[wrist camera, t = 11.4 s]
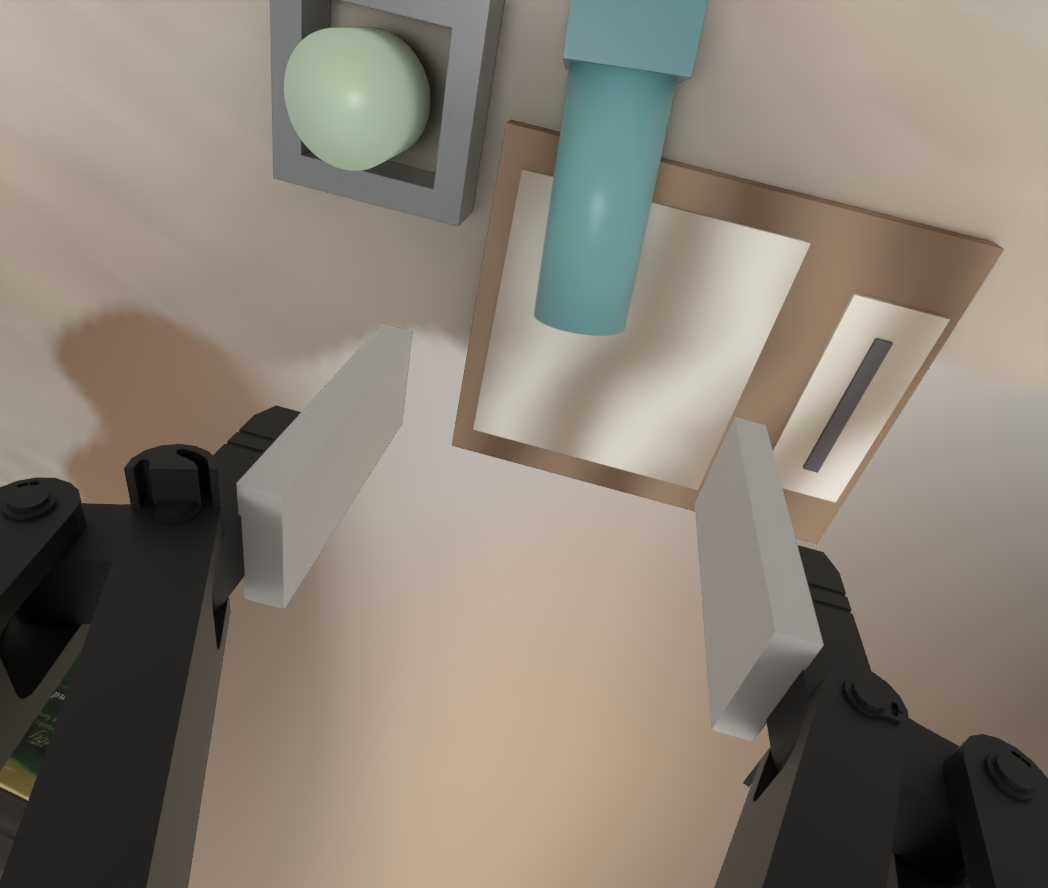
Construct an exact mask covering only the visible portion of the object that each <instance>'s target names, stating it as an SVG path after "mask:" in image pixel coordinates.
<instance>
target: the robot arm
mask: <svg viewBox="0 0 1048 888" xmlns="http://www.w3.org/2000/svg"><path fill="white" fill-rule="evenodd" d="M412 332H413V331H409V330H406V329H402V328H398V327H394V326H391V325H387V324H383V323H382V324H381V326H380V327H379V328H378V329H377V330H376V331H375V332H374V333H373V334H372V335H371V336H370V338H369V339H368V340H367V341H366V342H365V343H364V344H363V345H362V346H361V347H360V349H359V350H358V351H357V352H356V353H355V354H354V355H353V356H352V357H351V358H350V359H349V361H348V362H347V363H346V364H345V365H344V366H343V367H342V368H341V369H340V371H339V372H338V373H337V374H336V375H335V376H334V377H333V378H332V379H331V380H330V381H329V382H328V384H327V385H326V386H325V387H324V388H323V389H322V390H321V391H320V393H318V395H317V396H316V397H315V398H314V399H313V400H312V401H311V402H310V403H309V404H308V405H307V407H306V408H305V409H304V410H303V411H302V412H298V411H294V410H291V409H287V408H283V407H280V406H274V407H272V408H269V409H267V410H265V411H263V412H260V413H258V414H256V415H254V416H253V417H252V418H251V419H250V420H249V421H248V422H247V423H246V424H245V425H244V426H243V427H242V428H241V429H240V430H239V433H238V432H236V433H235V435H233V436H232V437H231V438H230V439H229V440H228V443H227V444H224V445H223V446H222V447H221V448H220V449H219V450H218V451H217V452H216V453H215V454H214V455H213V456H212V455H211V454H210V452H208V451H206V450H204V449H201V448H199V447H197V446H191V445H183V444H173V445H162V446H158V447H155V448H152V449H148V450H145V451H143V452H142V453H140V454H138V455H137V456H135V457H133V458H132V459H131V460H130V461H129V463H128V464H127V466H126V467H125V468H124V470H125V476H126V481H127V486H128V491H129V497H130V502H131V504H127V505H116V504H86V503H82V502H81V498H80V494H79V490H78V489H77V488H76V487H74V486H73V485H72V484H71V483H70V482H66V481H63V480H60V479H57V478H32V479H26V480H20V481H16V482H13V483H11V484H8V485H5V486H3V487H0V771H1V769H2V768H3V766H4V765H5V763H6V762H7V760H8V759H9V757H10V756H11V754H12V753H13V751H14V750H15V748H16V747H17V746H18V744H19V743H20V741H21V740H22V738H23V737H24V735H25V734H26V732H27V731H28V729H29V728H30V726H31V725H32V723H33V722H34V720H35V719H36V717H37V716H38V714H39V713H40V711H41V710H42V709H43V707H44V706H45V704H46V703H47V701H48V700H49V698H50V697H51V695H52V694H53V692H54V691H55V689H56V688H57V686H58V685H59V683H60V682H61V680H62V679H63V677H64V676H65V675H66V673H67V672H68V670H69V669H70V667H71V666H72V664H73V663H74V661H75V660H76V658H77V657H78V655H79V654H80V656H79V659H78V662H77V664H76V667H75V670H74V673H73V676H72V678H71V681H70V684H69V687H68V690H67V693H66V695H65V698H64V701H63V704H62V707H61V710H60V712H59V715H58V718H57V721H56V724H55V726H54V729H53V732H52V735H51V738H50V741H49V743H48V746H47V749H46V752H45V755H44V758H43V760H42V763H41V766H40V769H39V772H38V775H37V777H36V780H35V783H34V786H33V789H32V791H31V794H30V797H29V800H28V803H27V806H26V808H25V811H24V814H23V817H22V820H21V823H20V825H19V828H18V831H17V834H16V837H15V839H14V842H13V845H12V848H11V851H10V854H9V856H8V859H7V862H6V865H5V868H4V871H3V873H2V876H1V879H0V888H188V884H189V877H190V871H191V864H192V857H193V851H194V844H195V838H196V831H197V825H198V819H199V812H200V805H201V799H202V792H203V785H204V779H205V772H206V766H207V759H208V753H209V747H210V740H211V734H212V727H213V720H214V714H215V707H216V701H217V694H218V687H219V681H220V675H221V668H222V662H223V655H224V649H225V642H226V635H227V629H228V622H229V616H230V603H229V596H230V594H231V593H232V592H233V590H234V589H235V588H236V586H237V585H238V584H239V582H240V581H241V580H242V578H243V588H244V598H245V599H248V600H252V601H255V602H259V603H263V604H266V605H270V606H274V607H277V608H280V609H285V607H286V605H287V604H288V602H289V601H290V599H291V598H292V596H293V595H294V593H295V591H296V590H297V588H298V587H299V585H300V584H301V582H302V580H303V579H304V577H305V576H306V574H307V573H308V571H309V569H310V568H311V566H312V565H313V563H314V562H315V560H316V558H317V557H318V555H319V554H320V552H321V551H322V549H323V547H324V546H325V544H326V543H327V541H328V539H329V538H330V536H331V535H332V533H333V532H334V530H335V529H336V527H337V525H338V524H339V522H340V521H341V519H342V517H343V516H344V514H345V513H346V511H347V510H348V508H349V507H350V505H351V504H352V502H353V500H354V499H355V497H356V495H357V494H358V492H359V491H360V489H361V488H362V486H363V485H364V483H365V481H366V480H367V478H368V477H369V475H370V474H371V472H372V470H373V469H374V467H375V466H376V464H377V463H378V461H379V460H380V457H381V456H382V455H383V453H384V452H385V450H386V448H387V447H388V445H389V444H390V442H391V441H392V439H393V438H394V436H395V434H396V433H397V431H398V430H399V428H400V427H401V425H402V421H403V412H404V403H405V394H406V386H407V377H408V367H409V358H410V350H411V341H412ZM695 512H696V524H697V539H698V553H699V565H700V580H701V592H702V606H703V620H704V634H705V648H706V661H707V675H708V688H709V701H710V715H711V729H712V730H714V731H718V732H721V733H724V734H728V735H732V736H736V737H739V738H742V739H746V740H750V741H754V740H755V738H756V737H757V736H758V734H759V733H760V732H761V730H762V729H763V727H764V726H765V725H766V723H767V727H768V733H769V740H770V746H771V747H770V748H769V749H768V751H767V752H766V753H765V754H764V756H763V757H762V758H761V760H760V761H759V762H758V764H757V765H756V766H755V768H754V769H753V770H752V772H751V773H750V774H749V776H748V777H747V778H746V779H745V781H744V782H743V783H744V784H745V785H747V786H748V787H749V786H750V785H751V784H752V785H751V788H750V790H749V793H748V796H747V799H746V801H745V804H744V807H743V810H742V813H741V815H740V818H739V821H738V824H737V827H736V829H735V832H734V835H733V838H732V841H731V843H730V846H729V849H728V851H727V854H726V857H725V860H724V863H723V865H722V868H721V871H720V874H719V877H718V879H717V882H716V885H715V888H1048V778H1047V777H1046V776H1045V775H1044V774H1043V772H1042V771H1041V770H1040V769H1039V768H1038V767H1037V765H1036V764H1035V763H1034V762H1033V761H1032V760H1031V759H1029V758H1028V757H1027V756H1026V755H1024V754H1023V753H1022V752H1021V751H1020V750H1018V749H1017V748H1015V747H1014V746H1012V745H1010V744H1008V743H1006V742H1005V741H1003V740H1001V739H999V738H996V737H992V736H988V735H984V734H981V735H974V736H970V737H969V738H968V739H967V740H966V741H964V742H963V743H962V744H961V745H960V746H958V745H956V744H954V743H952V742H951V741H949V740H947V739H945V738H943V737H941V736H939V735H937V734H936V733H934V732H932V731H930V730H928V729H927V728H925V727H923V726H921V725H919V724H918V723H916V722H915V721H913V720H911V719H910V718H909V717H908V711H907V709H906V707H905V705H904V703H903V701H902V699H901V698H900V696H899V695H898V694H897V693H896V692H895V690H893V688H892V687H891V686H890V685H889V684H888V683H887V682H886V681H884V680H883V679H881V678H880V677H879V676H877V675H876V674H875V673H873V672H872V671H871V669H870V666H869V663H868V660H867V656H866V654H865V650H864V647H863V644H862V641H861V638H860V635H859V632H858V629H857V626H856V623H855V620H854V617H853V614H851V613H850V612H851V607H850V605H849V601H848V598H847V597H845V594H846V592H845V589H844V586H843V583H842V580H841V577H840V574H839V572H838V570H837V569H836V568H835V567H834V565H833V564H832V563H831V561H830V560H829V559H828V558H827V556H826V555H825V554H824V552H821V551H817V550H813V549H810V548H806V547H802V546H799V545H797V542H796V538H795V534H794V530H793V527H792V523H791V519H790V515H789V511H788V508H787V504H786V500H785V496H784V492H783V489H782V485H781V481H780V477H779V473H778V469H777V466H776V462H775V458H774V454H773V450H772V447H771V443H770V439H769V435H768V431H767V428H766V425H763V424H760V423H756V422H752V421H748V420H745V419H741V418H737V417H734V419H733V422H732V424H731V426H730V428H729V430H728V432H727V435H726V437H725V439H724V441H723V443H722V445H721V448H720V450H719V452H718V454H717V456H716V458H715V460H714V463H713V465H712V467H711V469H710V471H709V473H708V476H707V478H706V480H705V482H704V484H703V486H702V489H701V491H700V493H699V495H698V497H697V499H696V502H695ZM80 652H81V653H80Z"/></svg>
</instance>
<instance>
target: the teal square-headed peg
mask: <svg viewBox="0 0 1048 888" xmlns="http://www.w3.org/2000/svg"><path fill="white" fill-rule="evenodd" d="M707 5H708V0H571V1H570V8H569V16H568V23H567V30H566V37H565V44H564V51H563V61H564V64H565V67H566V68H568V69H569V74H568V81H567V88H566V95H565V102H564V109H563V116H562V123H561V130H560V137H559V143H558V150H557V157H556V164H555V171H554V178H553V185H552V192H551V199H550V206H549V213H548V220H547V226H546V233H545V240H544V247H543V254H542V261H541V268H540V275H539V282H538V289H537V296H536V302H535V309H534V317H535V318H536V319H537V320H538V321H540V322H541V323H543V324H545V325H547V326H550V327H552V328H555V329H559V330H562V331H566V332H571V333H576V334H583V335H592V336H610V335H617V334H620V333H622V332H623V331H624V330H625V326H626V321H627V317H628V312H629V307H630V302H631V298H632V293H633V288H634V284H635V279H636V274H637V269H638V265H639V260H640V255H641V250H642V246H643V241H644V236H645V231H646V227H647V222H648V217H649V212H650V208H651V203H652V198H653V194H654V189H655V184H656V179H657V175H658V170H659V165H660V160H661V156H662V151H663V146H664V141H665V137H666V132H667V127H668V123H669V118H670V113H671V108H672V104H673V99H674V94H675V89H676V85H677V84H678V83H680V82H682V81H684V80H687V79H689V78H691V77H692V73H693V69H694V64H695V59H696V55H697V50H698V46H699V41H700V37H701V32H702V28H703V23H704V18H705V14H706V9H707Z"/></svg>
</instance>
